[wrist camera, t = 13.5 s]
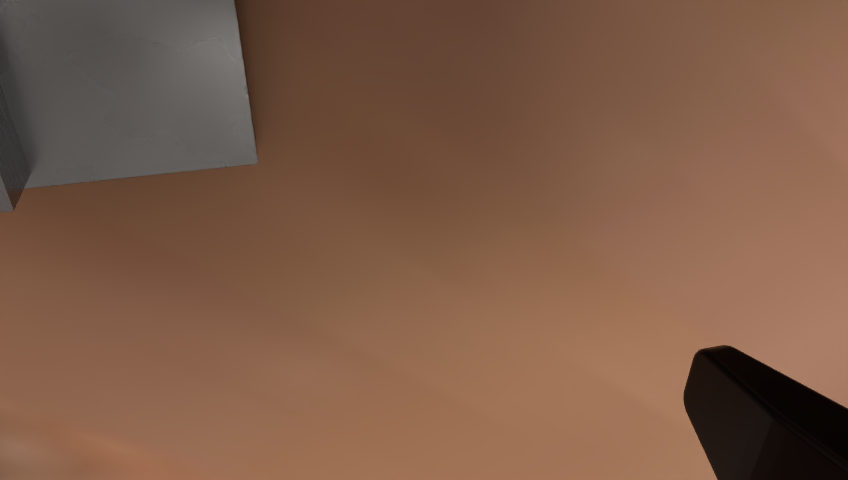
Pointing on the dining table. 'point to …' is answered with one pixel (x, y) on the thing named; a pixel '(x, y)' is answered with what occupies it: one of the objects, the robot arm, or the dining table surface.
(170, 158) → the socket block
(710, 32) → the dining table surface
